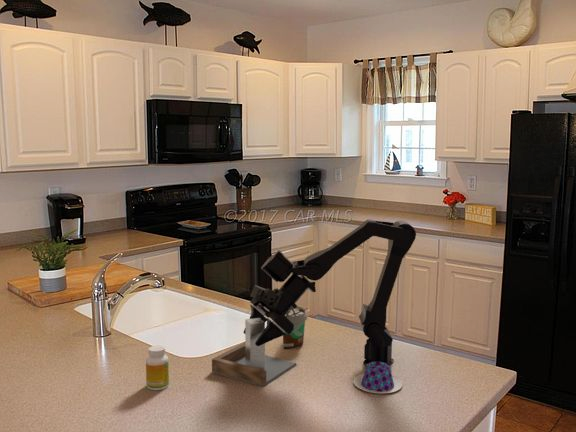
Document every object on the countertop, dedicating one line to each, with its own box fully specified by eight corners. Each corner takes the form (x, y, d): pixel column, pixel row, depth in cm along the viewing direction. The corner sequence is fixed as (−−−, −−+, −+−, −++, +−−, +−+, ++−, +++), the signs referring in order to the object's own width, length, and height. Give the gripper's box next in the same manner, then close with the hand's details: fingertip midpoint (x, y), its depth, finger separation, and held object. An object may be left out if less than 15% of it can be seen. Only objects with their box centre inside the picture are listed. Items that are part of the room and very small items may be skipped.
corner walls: (296, 362, 153) (296, 352, 152) (262, 384, 139) (262, 372, 139) (248, 350, 161) (248, 340, 160) (212, 370, 147) (211, 359, 147)
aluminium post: (259, 362, 153) (259, 317, 151) (264, 368, 149) (264, 322, 147) (245, 364, 151) (245, 319, 149) (250, 370, 147) (250, 324, 146)
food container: (303, 352, 162) (303, 318, 160) (282, 350, 163) (282, 317, 161) (310, 337, 174) (310, 306, 172) (290, 336, 175) (290, 304, 173)
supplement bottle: (168, 390, 137) (167, 351, 136) (145, 391, 136) (144, 352, 135) (169, 380, 142) (168, 343, 141) (147, 382, 141) (146, 344, 140)
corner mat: (296, 364, 153) (296, 362, 153) (262, 386, 139) (262, 384, 139) (248, 352, 161) (248, 350, 161) (212, 372, 147) (212, 370, 147)
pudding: (366, 371, 149) (366, 352, 149) (409, 382, 143) (410, 362, 142) (344, 388, 140) (345, 367, 139) (390, 400, 133) (390, 379, 132)
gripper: (257, 267, 157) (218, 310, 154) (283, 283, 140) (240, 332, 137) (283, 292, 161) (246, 334, 158) (311, 310, 144) (271, 358, 141)
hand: (250, 339), depth 148 cm, fingers open, 9 cm apart
